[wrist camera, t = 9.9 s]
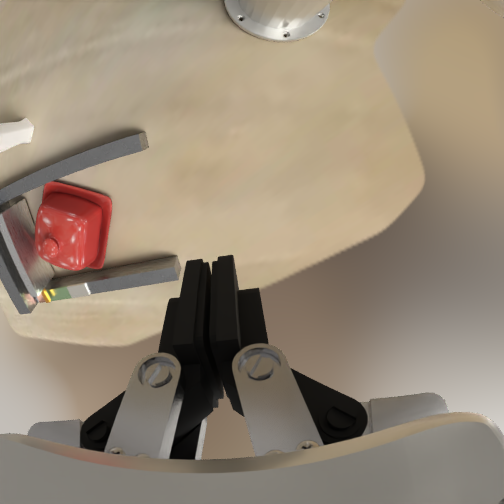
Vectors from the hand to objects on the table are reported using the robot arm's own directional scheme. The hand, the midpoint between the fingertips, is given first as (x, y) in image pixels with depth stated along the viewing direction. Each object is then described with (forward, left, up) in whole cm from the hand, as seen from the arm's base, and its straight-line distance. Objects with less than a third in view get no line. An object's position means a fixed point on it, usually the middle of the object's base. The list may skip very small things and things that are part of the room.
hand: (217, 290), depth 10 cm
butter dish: (+3, -22, -26) cm, 34 cm away
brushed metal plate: (+5, -30, -25) cm, 39 cm away
